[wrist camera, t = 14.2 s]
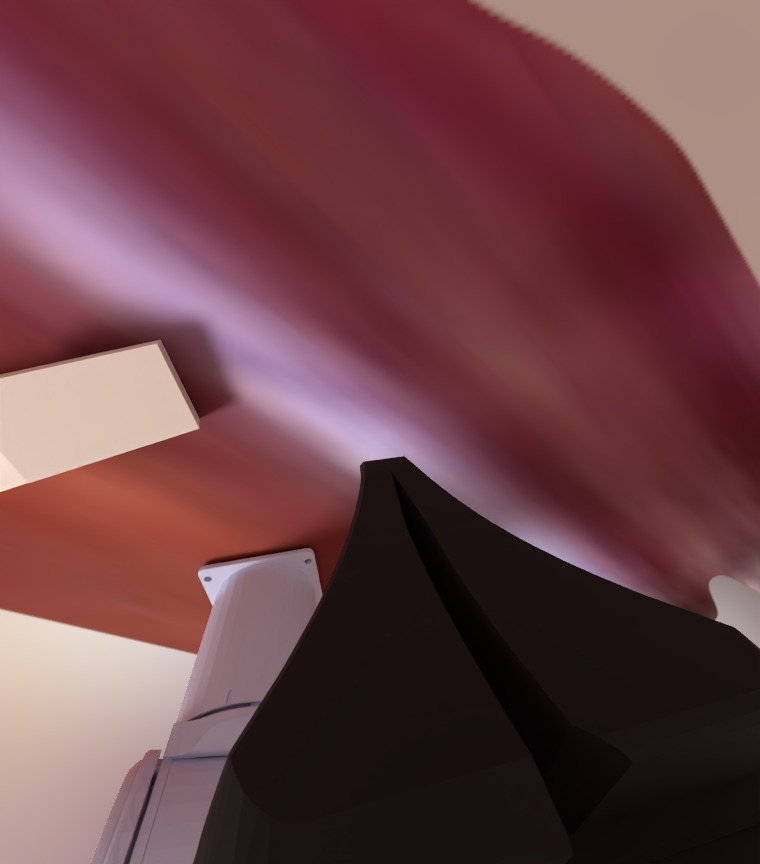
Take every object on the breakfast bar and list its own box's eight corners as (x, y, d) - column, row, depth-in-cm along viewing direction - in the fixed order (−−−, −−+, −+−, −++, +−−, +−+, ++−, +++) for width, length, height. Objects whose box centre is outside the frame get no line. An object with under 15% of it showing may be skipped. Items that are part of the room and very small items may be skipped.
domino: (199, 428, 16) (28, 483, 14) (199, 418, 17) (43, 467, 15) (156, 343, 14) (-55, 390, 11) (160, 339, 15) (-29, 380, 13)
